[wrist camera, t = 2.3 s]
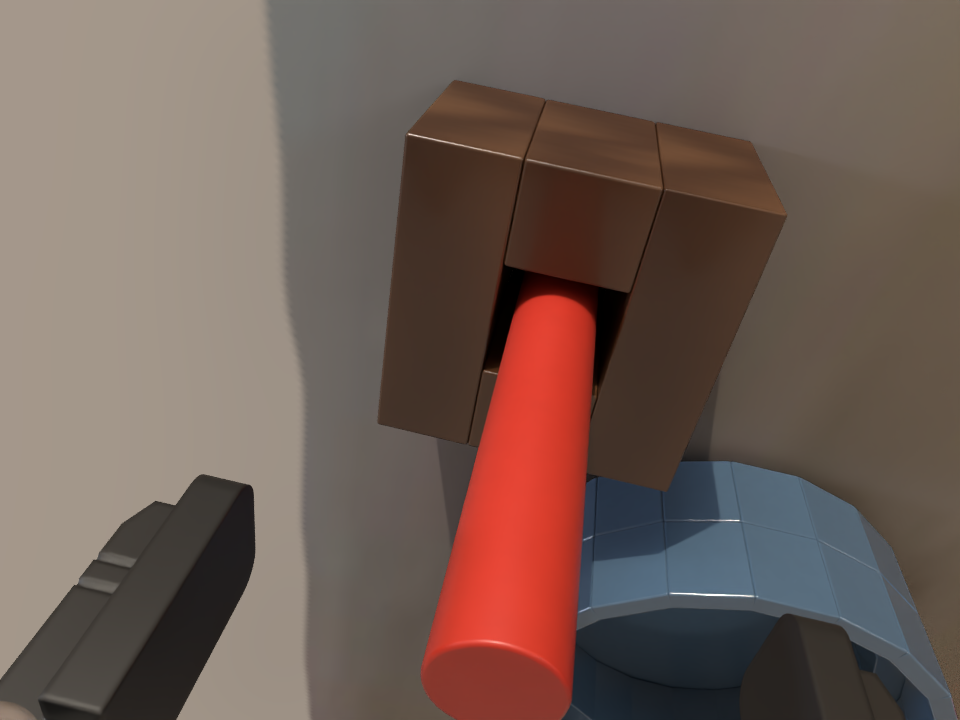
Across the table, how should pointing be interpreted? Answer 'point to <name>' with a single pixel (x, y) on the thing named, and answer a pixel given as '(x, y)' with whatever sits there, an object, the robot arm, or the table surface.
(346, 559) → the table surface
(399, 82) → the table surface
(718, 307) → the holder
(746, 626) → the bowl
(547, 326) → the stick
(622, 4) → the table surface
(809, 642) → the robot arm
